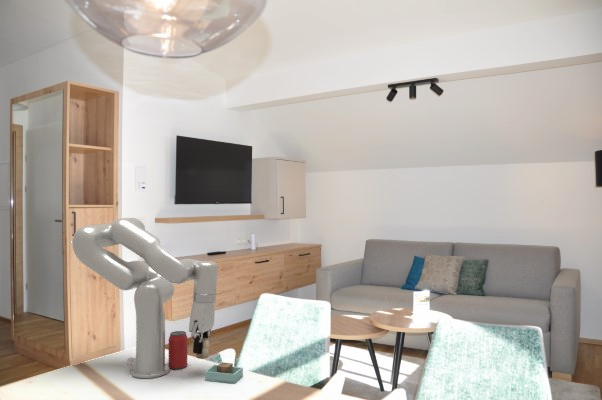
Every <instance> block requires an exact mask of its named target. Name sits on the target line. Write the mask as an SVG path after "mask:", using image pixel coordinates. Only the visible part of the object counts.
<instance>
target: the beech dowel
mask: <svg viewBox="0 0 602 400" xmlns="http://www.w3.org/2000/svg"><path fill="white" fill-rule="evenodd" d="M202 342H203V350H202V354H196V353H195V354H196V356H195V357H196V358H197V359H201V360H203V359H207V358H209V351H210V345H209V344H210V338H202Z"/></svg>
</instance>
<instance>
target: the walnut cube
mask: <svg viewBox="0 0 602 400" xmlns="http://www.w3.org/2000/svg"><path fill="white" fill-rule="evenodd" d="M216 365H217V372H219V373H229V374H233V367H234V364H233V363H232V362H223V361H221V362H220V363H219V364H216Z"/></svg>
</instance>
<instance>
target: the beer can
mask: <svg viewBox="0 0 602 400" xmlns="http://www.w3.org/2000/svg"><path fill="white" fill-rule="evenodd" d="M188 342H189V341H188V336H187V332H186V331H184V330H183V331H182V330H180V331H179V330H176V331H172V332H170V333H169V337H168V366H169V369H172V370H181V369H185V368H186V367H187V366H188V350H189V349H188V347H189V345H188Z"/></svg>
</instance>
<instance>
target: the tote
mask: <svg viewBox="0 0 602 400" xmlns="http://www.w3.org/2000/svg"><path fill="white" fill-rule="evenodd" d="M217 365H218V364H213V365H212V366H210V367H209V368H208V369H206V370H205V371H204V382H215V383H221V384H222V383H223V384H224V383H225V384H232V385H235V384H236V383H237V382H239V380H241V379H242V378H243V376H244V367H242V366H240V367H239V366H233V374H229V373H219V372H217Z"/></svg>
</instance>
